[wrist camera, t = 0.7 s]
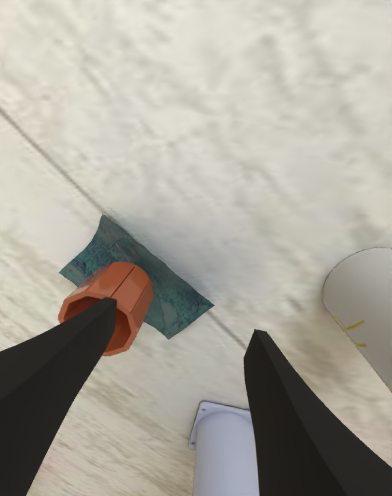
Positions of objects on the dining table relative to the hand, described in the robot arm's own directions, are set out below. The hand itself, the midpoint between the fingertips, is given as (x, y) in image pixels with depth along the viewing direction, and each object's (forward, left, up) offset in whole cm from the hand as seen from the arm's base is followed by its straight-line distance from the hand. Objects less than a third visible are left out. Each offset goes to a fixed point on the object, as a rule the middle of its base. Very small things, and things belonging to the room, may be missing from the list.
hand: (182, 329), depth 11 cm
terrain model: (-4, +5, -10) cm, 12 cm away
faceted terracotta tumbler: (-4, +6, -8) cm, 10 cm away
